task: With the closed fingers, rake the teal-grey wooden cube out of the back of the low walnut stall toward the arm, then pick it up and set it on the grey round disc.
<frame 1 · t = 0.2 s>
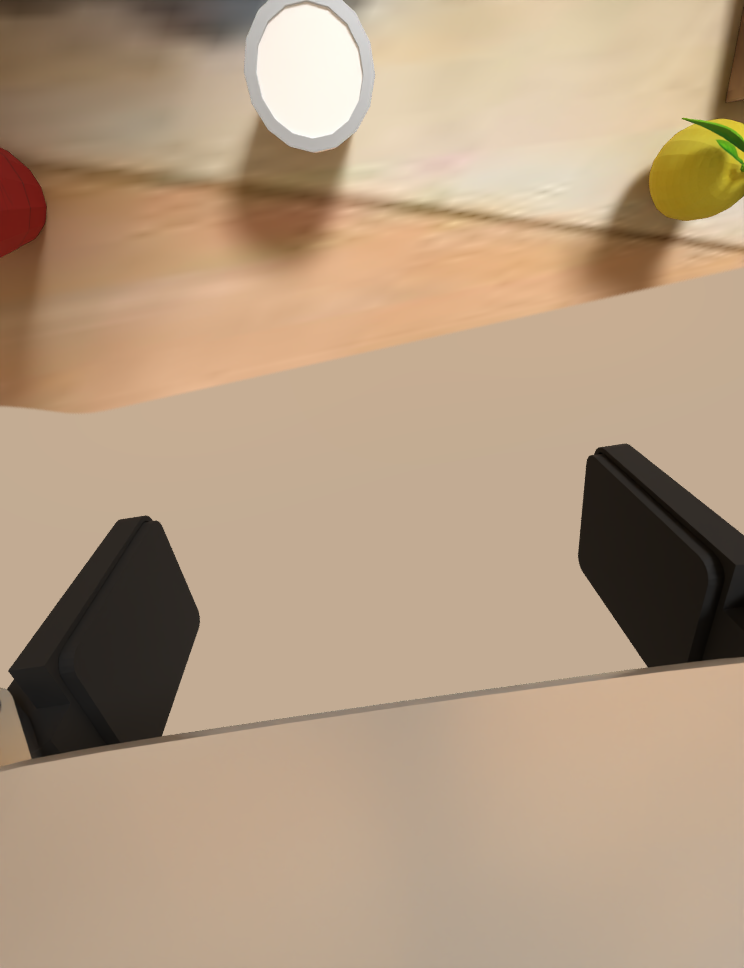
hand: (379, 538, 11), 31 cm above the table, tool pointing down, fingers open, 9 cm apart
lemon: (662, 175, 35), on the table
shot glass: (315, 101, 32), on the table
plastic cup: (7, 200, 33), on the table
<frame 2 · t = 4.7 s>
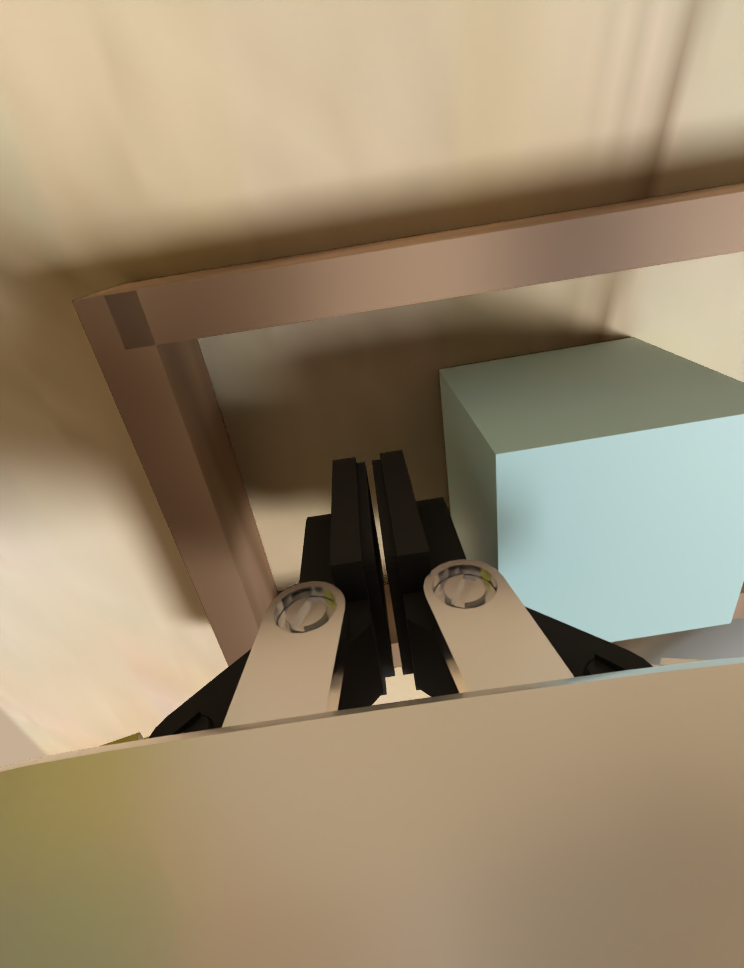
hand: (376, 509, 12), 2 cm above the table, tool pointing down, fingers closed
walnut stall: (666, 417, 13), on the table
grey round disc: (718, 680, 19), on the table
teal cube: (534, 441, 14), resting in walnut stall, touching gripper
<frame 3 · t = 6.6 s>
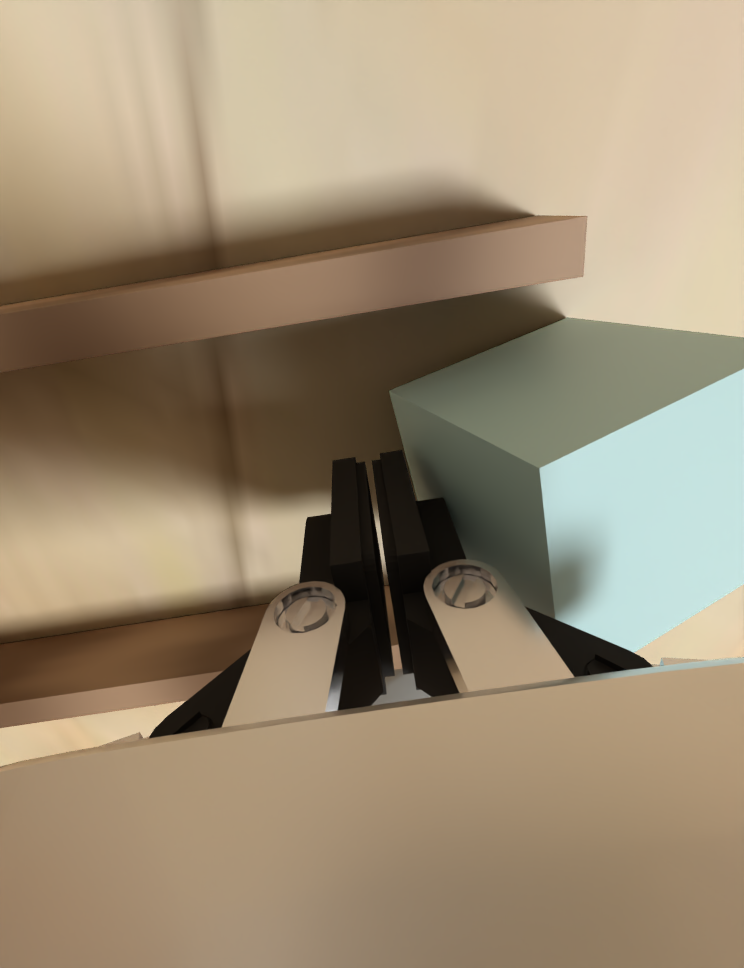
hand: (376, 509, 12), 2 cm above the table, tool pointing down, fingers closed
walnut stall: (320, 472, 14), on the table
grey round disc: (477, 716, 19), on the table
teal cube: (496, 445, 13), point 1 cm above the table, tilted 20°, touching gripper
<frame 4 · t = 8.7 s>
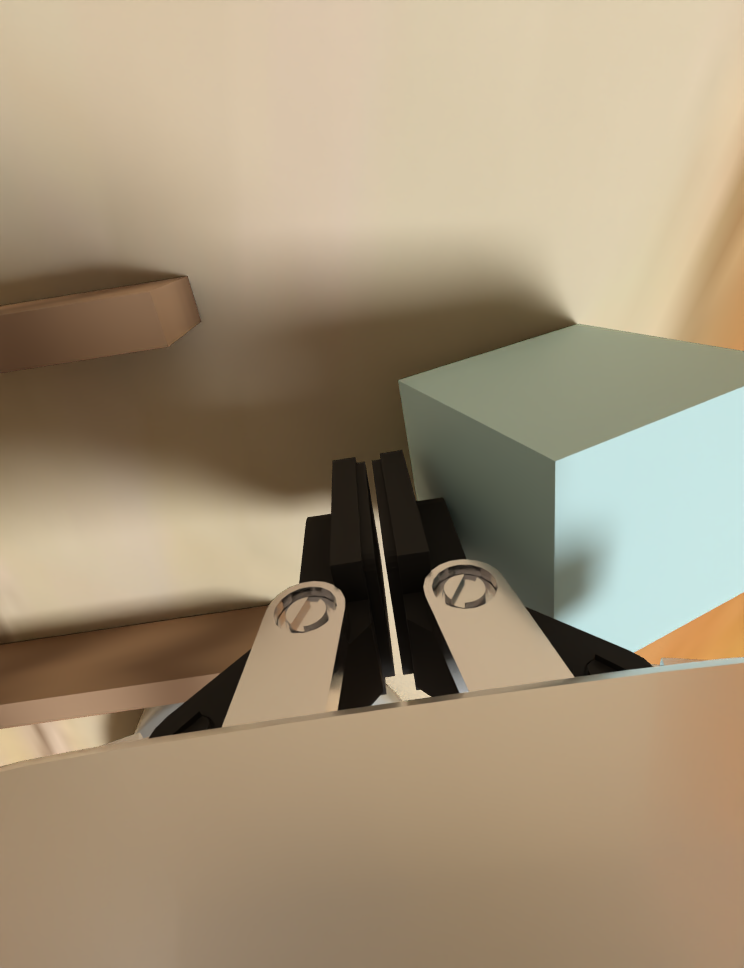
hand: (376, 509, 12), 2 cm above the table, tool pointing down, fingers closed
walnut stall: (43, 516, 14), on the table
grey round disc: (279, 746, 20), on the table
teal cube: (498, 445, 13), point 1 cm above the table, tilted 19°, touching gripper
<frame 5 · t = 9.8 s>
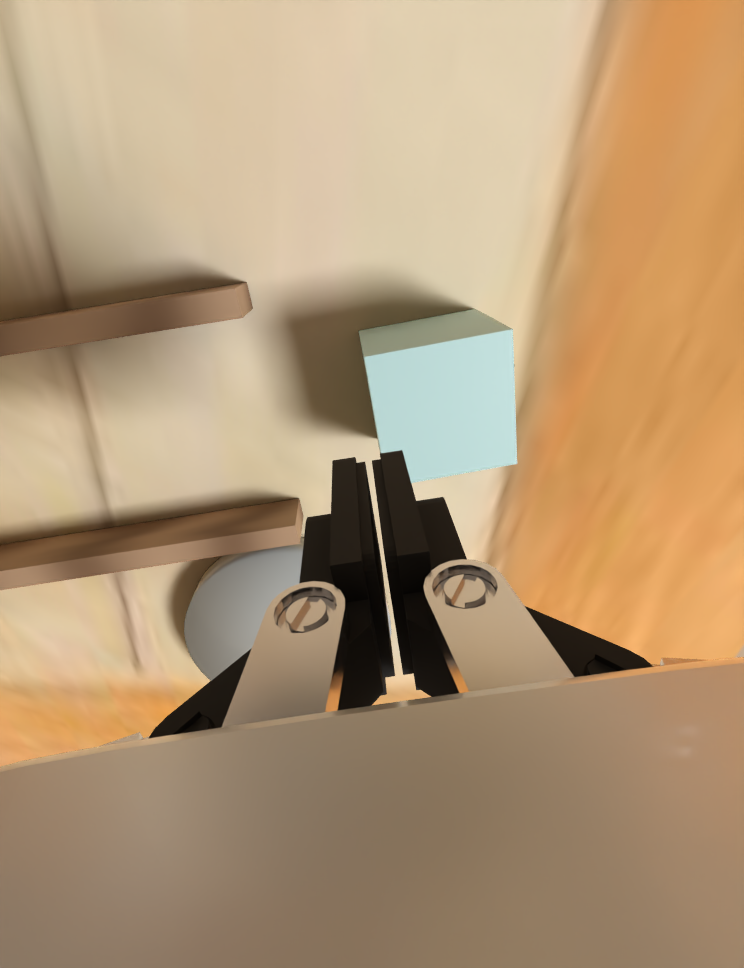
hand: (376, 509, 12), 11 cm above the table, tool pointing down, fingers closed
walnut stall: (147, 433, 22), on the table
grey round disc: (291, 617, 27), on the table
teal cube: (423, 376, 22), on the table
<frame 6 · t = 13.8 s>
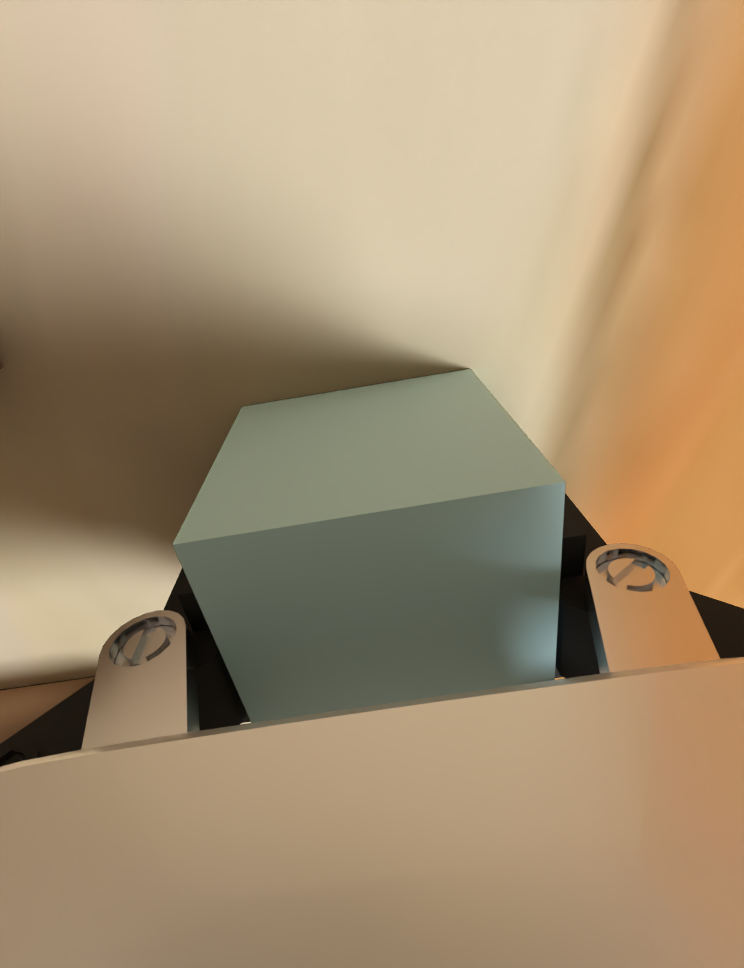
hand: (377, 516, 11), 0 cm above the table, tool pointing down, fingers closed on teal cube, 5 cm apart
teal cube: (372, 486, 12), on the table, touching gripper
when the fingers open (3 cm above the table, at t = 19.3 s): teal cube drops 1 cm, resting on grey round disc.
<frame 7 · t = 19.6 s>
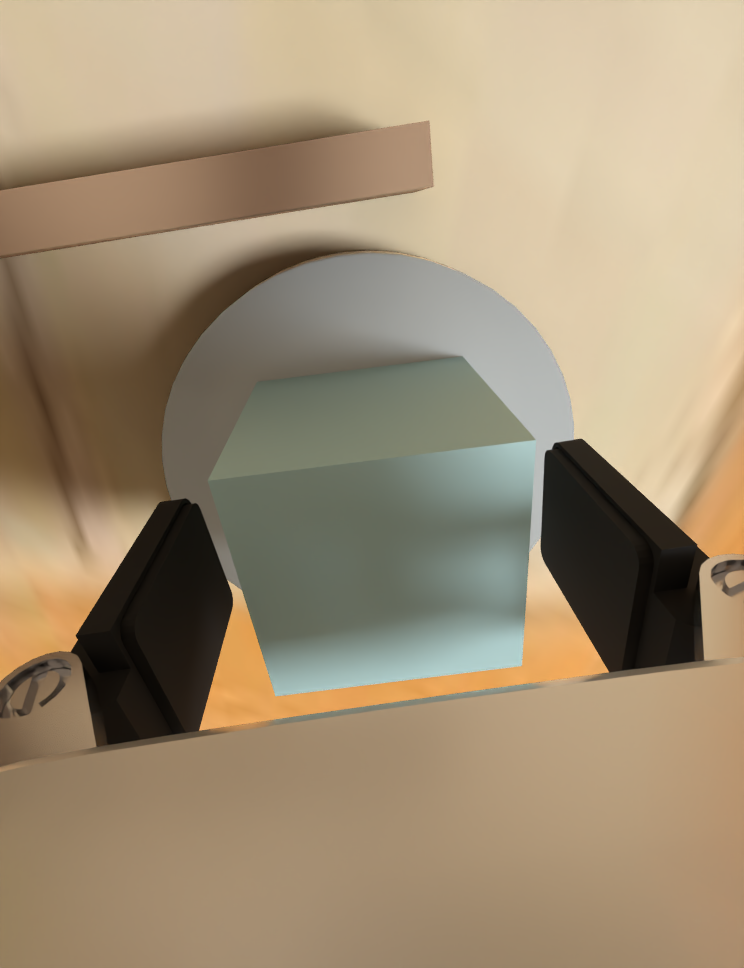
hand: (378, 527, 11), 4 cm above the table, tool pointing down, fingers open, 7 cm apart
grey round disc: (369, 454, 14), on the table
teal cube: (371, 460, 13), point 1 cm above the table, touching grey round disc
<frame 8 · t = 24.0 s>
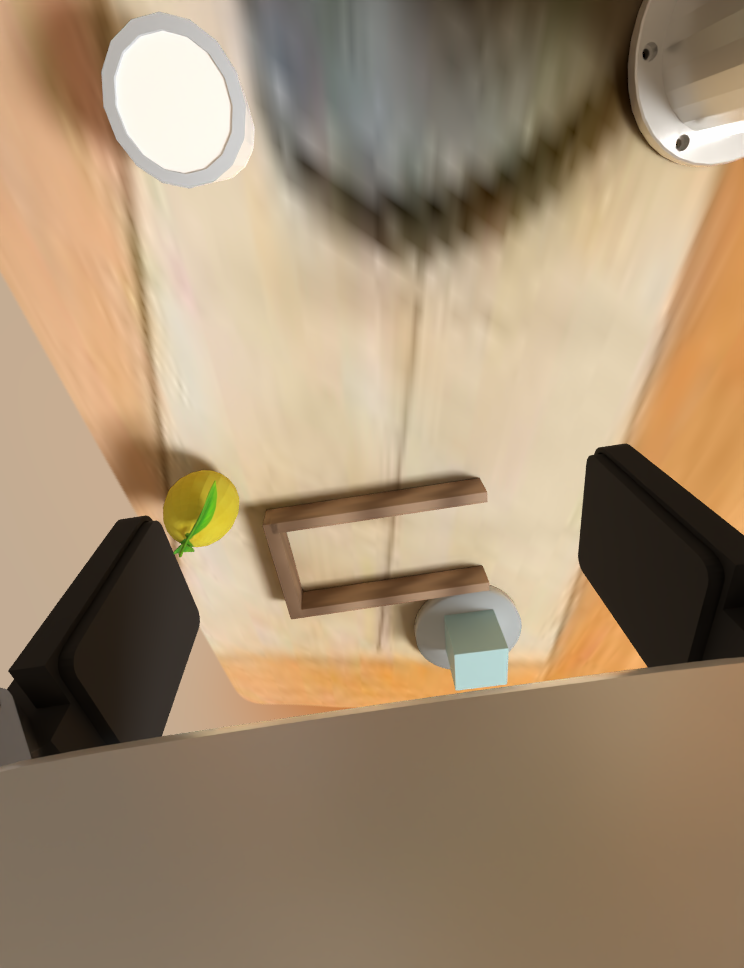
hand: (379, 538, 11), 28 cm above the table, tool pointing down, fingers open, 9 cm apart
lemon: (213, 481, 42), on the table
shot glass: (209, 128, 30), on the table
walnut stall: (418, 537, 46), on the table
grey round disc: (465, 623, 51), on the table
teal cube: (469, 630, 50), point 1 cm above the table, touching grey round disc
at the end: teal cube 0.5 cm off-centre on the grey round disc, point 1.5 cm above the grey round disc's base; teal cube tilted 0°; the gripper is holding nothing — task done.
